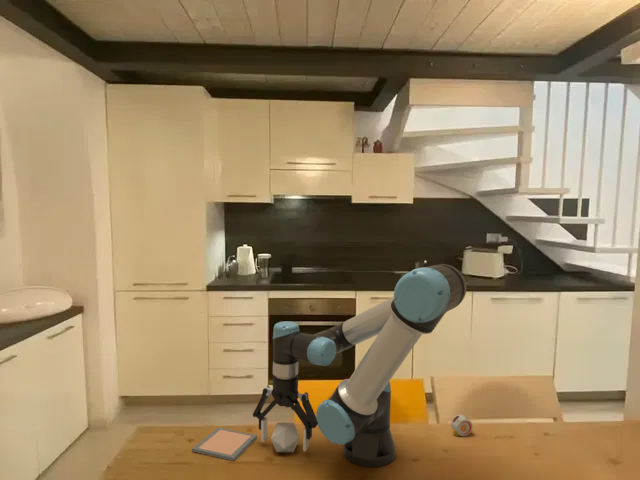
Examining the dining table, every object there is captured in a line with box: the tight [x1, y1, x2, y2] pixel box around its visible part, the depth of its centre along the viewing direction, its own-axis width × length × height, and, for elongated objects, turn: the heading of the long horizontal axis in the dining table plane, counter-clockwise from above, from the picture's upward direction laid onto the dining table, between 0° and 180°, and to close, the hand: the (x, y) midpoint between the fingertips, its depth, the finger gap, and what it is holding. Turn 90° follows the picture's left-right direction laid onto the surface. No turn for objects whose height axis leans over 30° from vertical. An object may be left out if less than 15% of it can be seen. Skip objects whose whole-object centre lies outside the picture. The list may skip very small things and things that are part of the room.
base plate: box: [191, 427, 258, 462], centre depth 139 cm, size 14×14×1 cm
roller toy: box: [450, 414, 473, 437], centre depth 147 cm, size 4×6×6 cm
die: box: [270, 422, 300, 453], centre depth 137 cm, size 8×9×10 cm
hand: (284, 444), depth 137 cm, fingers open, 13 cm apart
